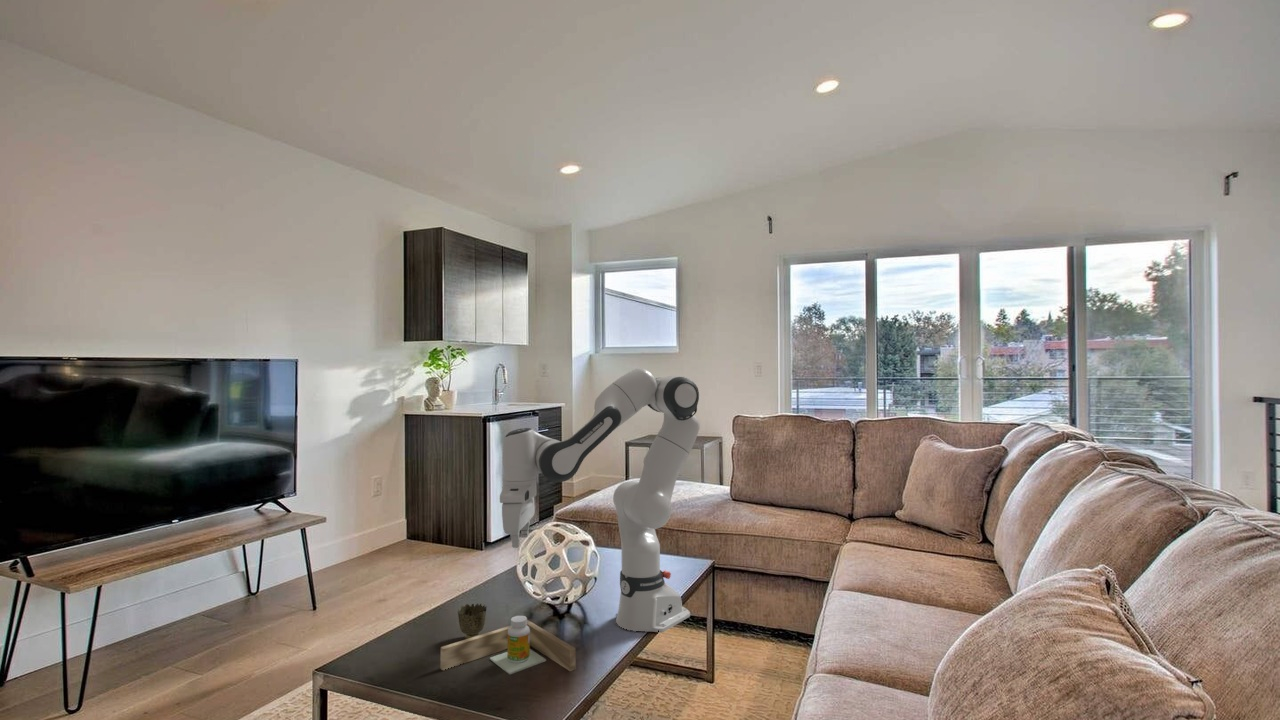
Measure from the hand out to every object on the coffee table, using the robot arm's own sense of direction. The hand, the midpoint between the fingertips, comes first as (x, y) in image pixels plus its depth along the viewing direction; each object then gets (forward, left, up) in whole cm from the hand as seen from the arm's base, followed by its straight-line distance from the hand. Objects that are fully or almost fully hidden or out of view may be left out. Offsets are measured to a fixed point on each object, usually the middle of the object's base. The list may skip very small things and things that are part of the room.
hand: (520, 541), depth 156 cm
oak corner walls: (+10, +12, -26) cm, 30 cm away
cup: (+9, -10, -26) cm, 30 cm away
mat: (+6, +9, -26) cm, 28 cm away
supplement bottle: (+6, +9, -26) cm, 28 cm away
